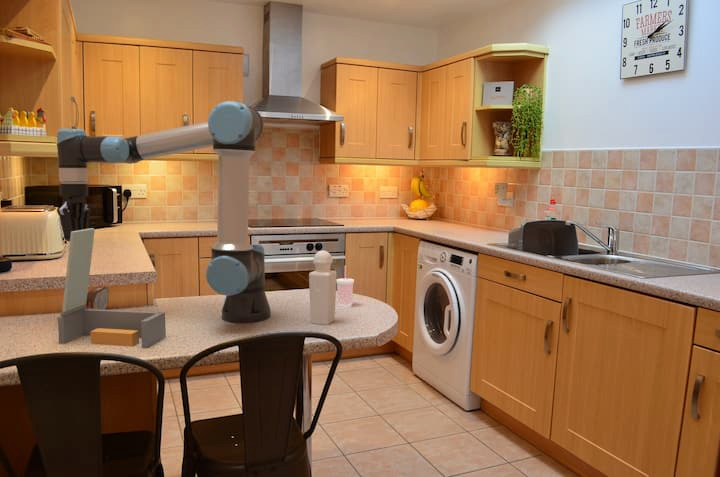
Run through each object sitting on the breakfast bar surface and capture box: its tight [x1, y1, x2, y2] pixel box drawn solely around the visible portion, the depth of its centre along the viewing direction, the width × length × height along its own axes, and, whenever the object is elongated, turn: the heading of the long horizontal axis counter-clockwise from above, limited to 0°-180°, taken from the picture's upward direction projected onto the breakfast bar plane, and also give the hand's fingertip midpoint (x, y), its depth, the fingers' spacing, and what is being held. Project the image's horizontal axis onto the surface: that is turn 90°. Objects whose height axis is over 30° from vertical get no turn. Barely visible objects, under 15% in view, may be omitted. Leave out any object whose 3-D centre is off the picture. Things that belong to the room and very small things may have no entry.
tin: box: [86, 285, 110, 310], centre depth 188 cm, size 15×3×8 cm, turn 5°
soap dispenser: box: [308, 250, 338, 326], centre depth 178 cm, size 6×6×22 cm
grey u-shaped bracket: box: [57, 309, 167, 349], centre depth 159 cm, size 25×10×7 cm, turn 81°
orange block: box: [90, 328, 140, 347], centre depth 157 cm, size 12×3×4 cm, turn 80°
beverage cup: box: [336, 264, 355, 308], centre depth 200 cm, size 6×6×14 cm
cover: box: [60, 227, 96, 317], centre depth 158 cm, size 23×9×1 cm
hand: (77, 262), depth 174 cm, fingers closed
